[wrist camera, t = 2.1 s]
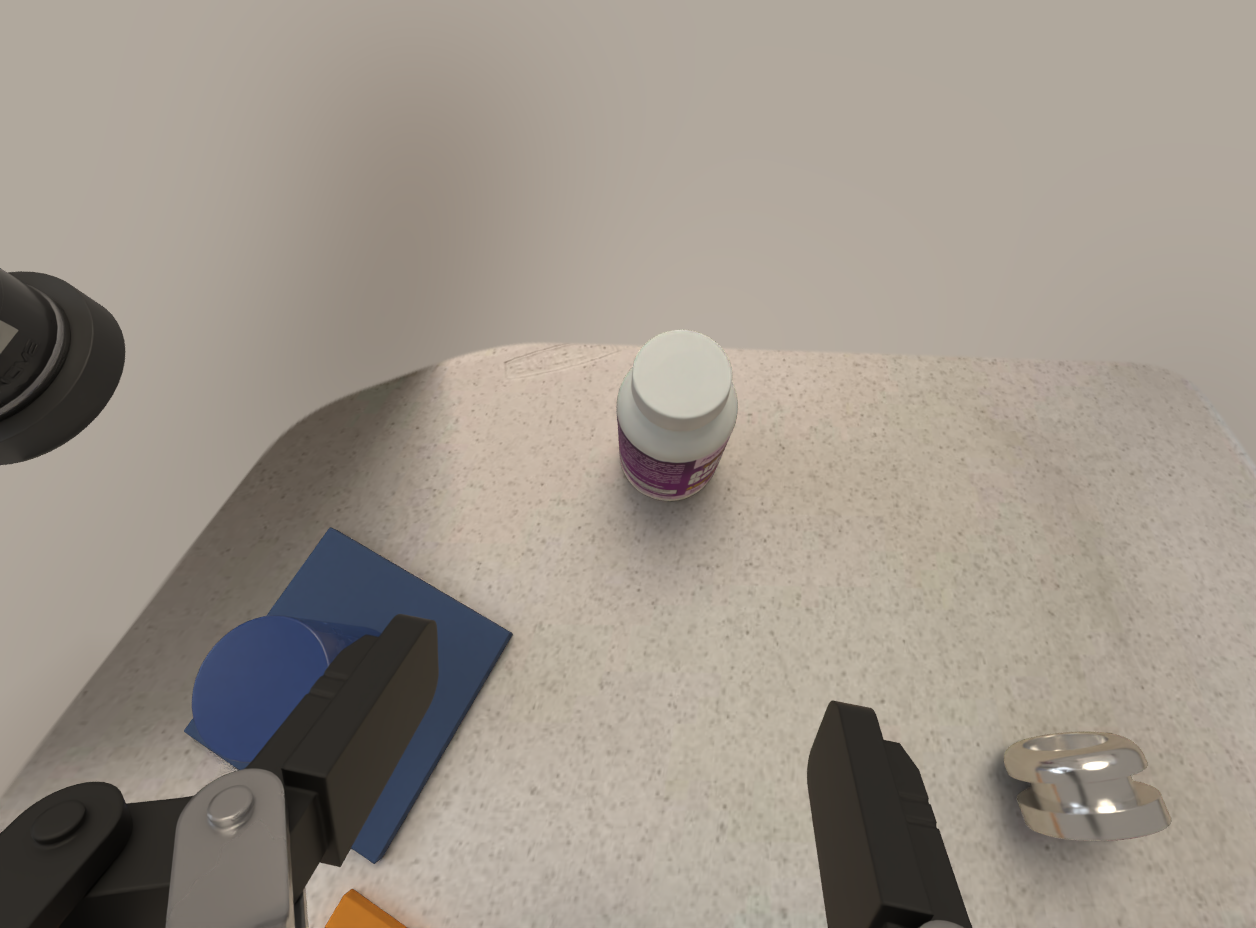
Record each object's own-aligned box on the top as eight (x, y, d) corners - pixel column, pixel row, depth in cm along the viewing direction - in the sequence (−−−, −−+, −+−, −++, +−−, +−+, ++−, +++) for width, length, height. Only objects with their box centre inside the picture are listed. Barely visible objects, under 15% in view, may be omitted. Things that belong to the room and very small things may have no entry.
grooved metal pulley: (1000, 817, 26) (1080, 850, 22) (976, 745, 27) (1047, 762, 23) (1105, 794, 27) (1207, 822, 22) (1078, 724, 28) (1168, 736, 23)
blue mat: (194, 729, 28) (182, 731, 27) (337, 530, 31) (329, 526, 30) (381, 859, 26) (374, 864, 25) (513, 633, 29) (510, 632, 29)
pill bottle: (703, 515, 31) (732, 453, 22) (607, 488, 32) (596, 416, 22) (728, 424, 33) (764, 331, 24) (636, 400, 33) (636, 300, 24)
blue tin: (274, 703, 28) (161, 716, 21) (340, 607, 29) (252, 590, 22) (360, 760, 27) (269, 792, 20) (423, 658, 28) (358, 657, 22)
